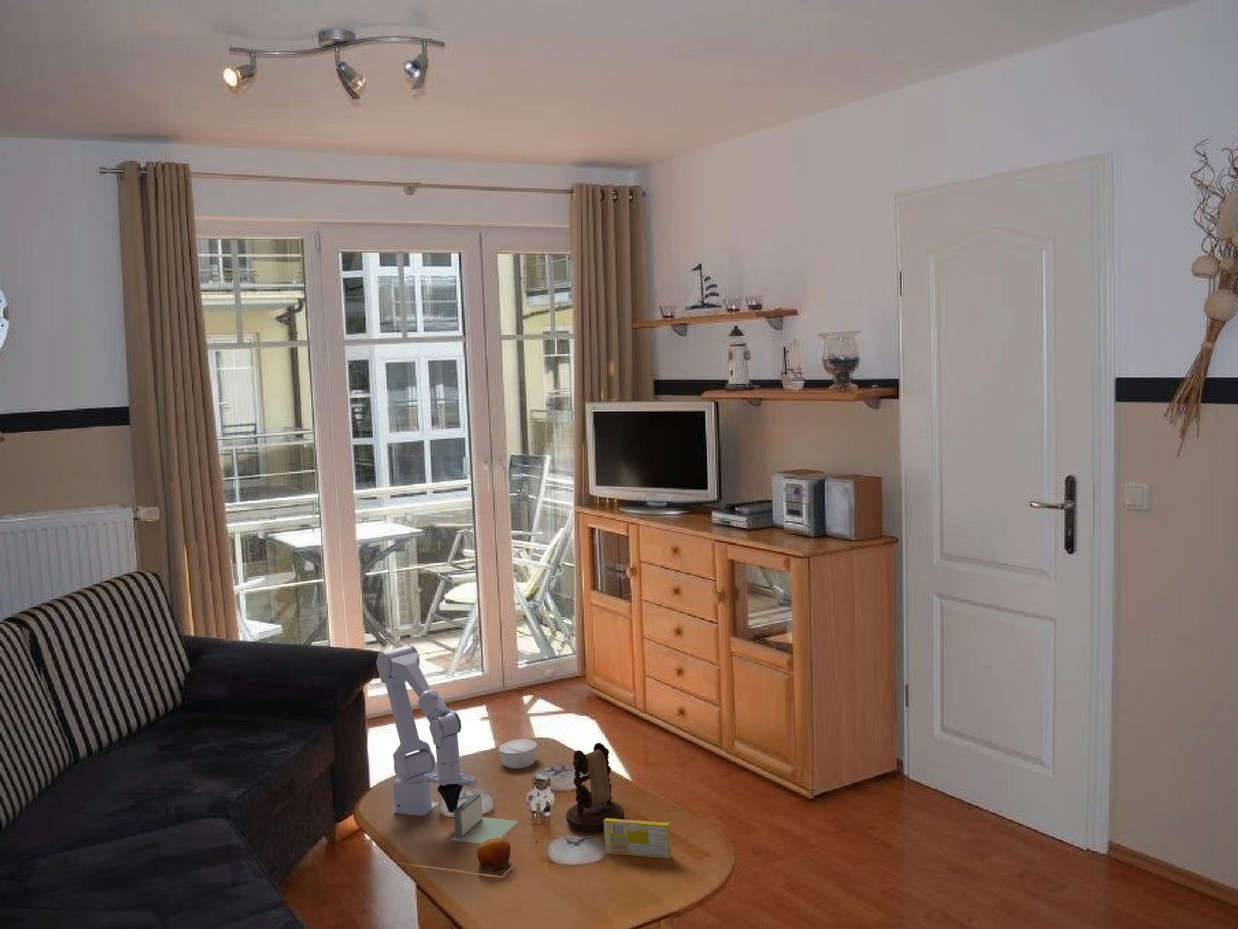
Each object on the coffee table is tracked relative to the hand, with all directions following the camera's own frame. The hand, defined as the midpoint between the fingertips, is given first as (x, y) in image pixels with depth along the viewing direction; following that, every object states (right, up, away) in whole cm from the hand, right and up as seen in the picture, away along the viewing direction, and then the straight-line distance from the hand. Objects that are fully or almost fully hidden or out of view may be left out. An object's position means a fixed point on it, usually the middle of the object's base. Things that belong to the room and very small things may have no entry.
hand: (452, 811), depth 291 cm
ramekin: (+13, +1, +42) cm, 44 cm away
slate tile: (+4, -4, -1) cm, 6 cm away
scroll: (+37, -3, -1) cm, 37 cm away
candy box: (+47, -4, -21) cm, 52 cm away
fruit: (+13, -7, -22) cm, 26 cm away
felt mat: (+9, -4, -3) cm, 10 cm away
